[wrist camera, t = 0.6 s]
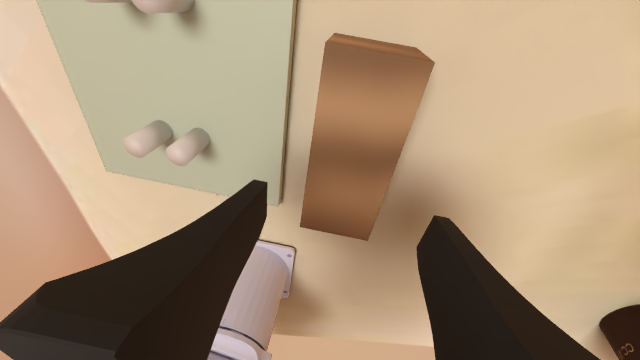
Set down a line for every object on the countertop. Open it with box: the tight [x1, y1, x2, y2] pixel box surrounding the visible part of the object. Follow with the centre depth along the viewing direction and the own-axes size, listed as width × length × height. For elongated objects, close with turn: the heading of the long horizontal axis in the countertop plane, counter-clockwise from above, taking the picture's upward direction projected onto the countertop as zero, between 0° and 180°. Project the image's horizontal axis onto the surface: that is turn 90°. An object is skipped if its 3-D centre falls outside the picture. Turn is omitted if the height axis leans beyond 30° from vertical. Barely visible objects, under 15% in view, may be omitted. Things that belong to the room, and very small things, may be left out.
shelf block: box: [300, 33, 435, 241], centre depth 17 cm, size 12×5×5 cm, turn 172°
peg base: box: [36, 0, 297, 207], centre depth 16 cm, size 20×16×4 cm
